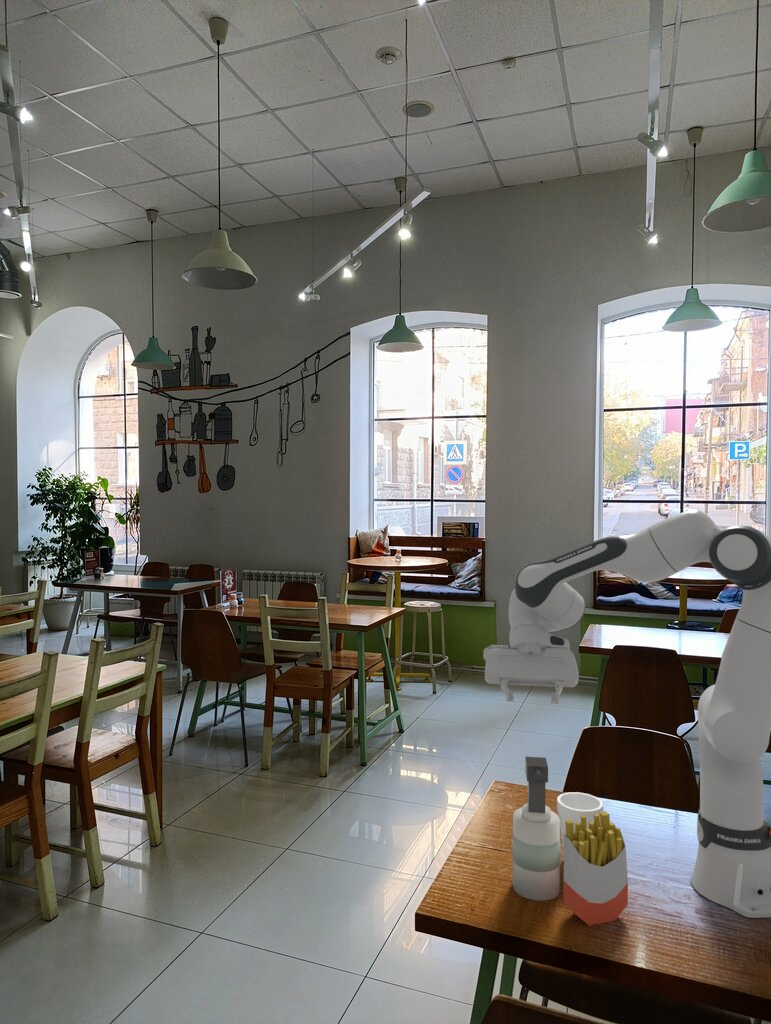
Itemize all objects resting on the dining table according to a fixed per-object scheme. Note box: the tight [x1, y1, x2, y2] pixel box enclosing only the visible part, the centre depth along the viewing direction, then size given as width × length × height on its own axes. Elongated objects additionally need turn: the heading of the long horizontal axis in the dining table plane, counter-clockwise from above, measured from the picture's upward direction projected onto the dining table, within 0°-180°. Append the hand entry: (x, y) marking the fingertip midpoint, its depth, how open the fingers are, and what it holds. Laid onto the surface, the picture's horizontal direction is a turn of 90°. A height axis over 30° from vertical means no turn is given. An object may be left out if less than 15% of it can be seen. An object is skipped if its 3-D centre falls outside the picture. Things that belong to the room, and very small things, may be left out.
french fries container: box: [563, 810, 629, 926], centre depth 122 cm, size 5×11×18 cm, turn 107°
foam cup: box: [556, 791, 604, 853], centre depth 141 cm, size 10×9×13 cm
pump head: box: [524, 756, 549, 783], centre depth 129 cm, size 4×9×9 cm, turn 172°
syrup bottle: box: [511, 781, 561, 902], centre depth 131 cm, size 9×9×22 cm
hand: (532, 701), depth 142 cm, fingers open, 8 cm apart
